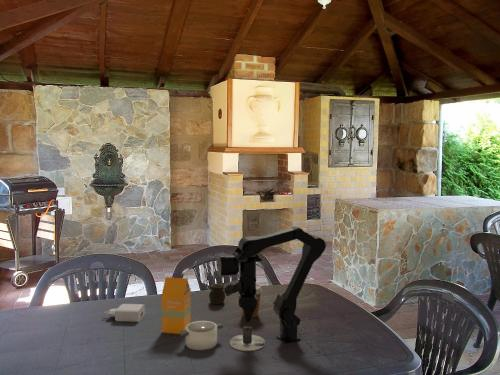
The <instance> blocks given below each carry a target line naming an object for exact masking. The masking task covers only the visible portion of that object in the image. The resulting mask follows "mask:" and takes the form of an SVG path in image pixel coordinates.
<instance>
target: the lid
mask: <svg viewBox="0 0 500 375" xmlns="http://www.w3.org/2000/svg"><path fill="white" fill-rule="evenodd" d="M229 345H230V347H231V348H233V349H234V350H238V351H242V352H253V351H258V350H261V349H263V347H265V345H266V340H265V339H264V338H263V337H262V336H261V335H260V336H259V335H255V334H253V327H252V326H250V325H244V326H242V334H239V335H238V334H237V335H235V336H233V337H231V338H230V340H229Z"/></svg>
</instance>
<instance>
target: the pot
mask: <svg viewBox="0 0 500 375" xmlns="http://www.w3.org/2000/svg"><path fill="white" fill-rule="evenodd" d="M223 328H224V325H223V324H222V323H221V322H218V323H215V322H213V321H209V320H196V321H192V322H191V323H189V324H188V325H187V326H186V330H184V331H179V334H178V335H180V337H183V338H184V337H185V346H186V347H187V349H191V350H196V351H205V350H210V349H213V348H214V347H216V346H217V345H218V329H223Z"/></svg>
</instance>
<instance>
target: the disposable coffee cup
mask: <svg viewBox="0 0 500 375" xmlns="http://www.w3.org/2000/svg"><path fill="white" fill-rule="evenodd" d="M262 291H263V289H262V286H261V285H260V284H257V283H256V296H257V307H256V309H255V311H254V313H253V315H252V318H257V317H258V315H259V309H260V301H261V295H262ZM241 312H242V316H243V317H244V318H245V314H244V310H243V308H241Z"/></svg>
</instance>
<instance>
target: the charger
mask: <svg viewBox="0 0 500 375" xmlns="http://www.w3.org/2000/svg"><path fill="white" fill-rule="evenodd" d="M104 314H107V316H108V317H114V319H115V321H116V322H122V323H123V322H124V323H126V322H127V323H128V322H129V323H130V322H131V323H135V322H136V323H139V322H140V321H141V320H142V319H143V317H144V316H145V314H146V308H145V303H144V304H139V303H122V304H120V305H119V306H118V307H117V308H110V309H109V310H105V311H104Z"/></svg>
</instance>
